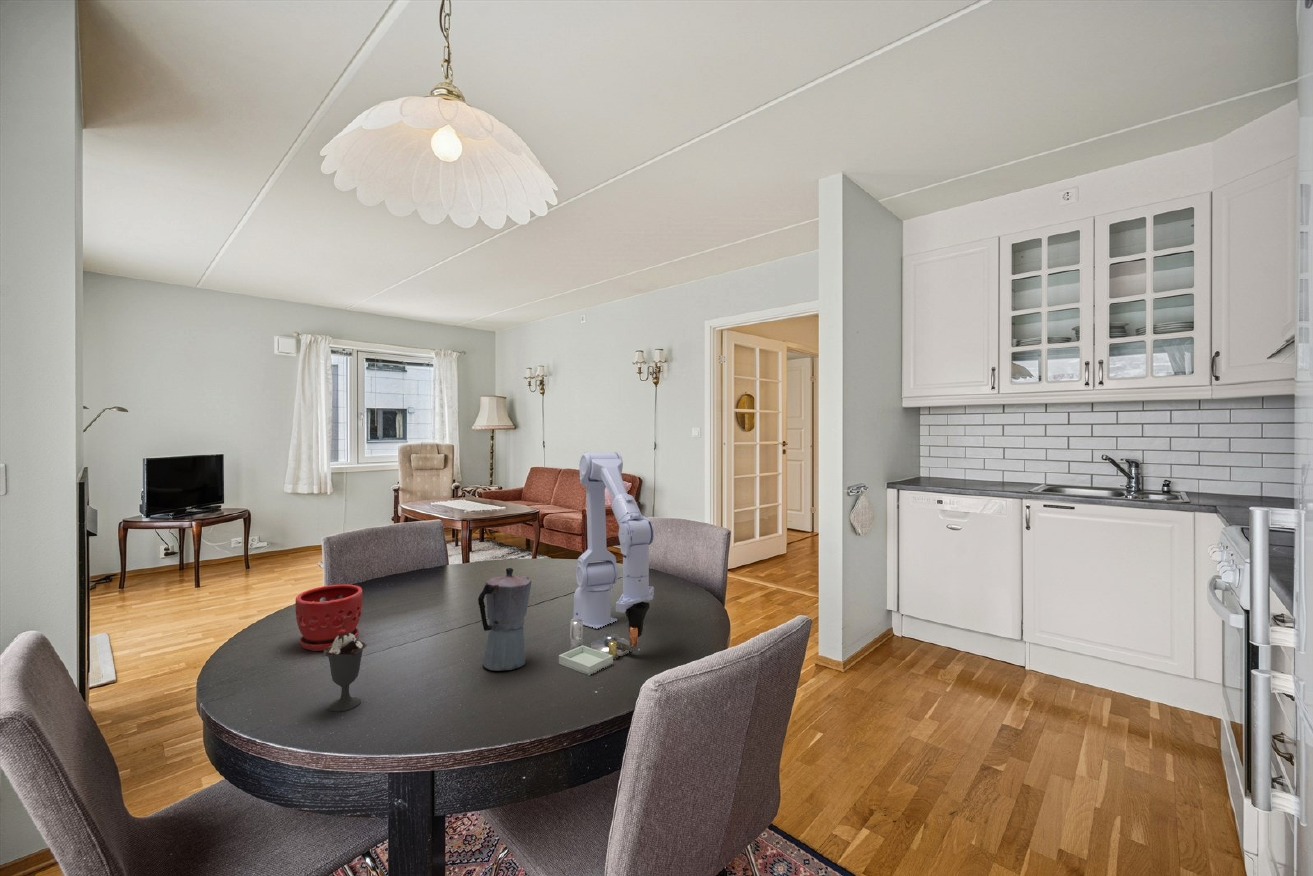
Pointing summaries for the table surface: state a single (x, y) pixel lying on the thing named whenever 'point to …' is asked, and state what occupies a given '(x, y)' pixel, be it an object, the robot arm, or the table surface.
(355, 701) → the sundae
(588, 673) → the tray
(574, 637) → the clear glass cylinder
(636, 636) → the crank
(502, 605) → the moka pot
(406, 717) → the table surface
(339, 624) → the plant pot
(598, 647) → the crank base
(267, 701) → the table surface
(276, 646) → the table surface
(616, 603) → the robot arm
